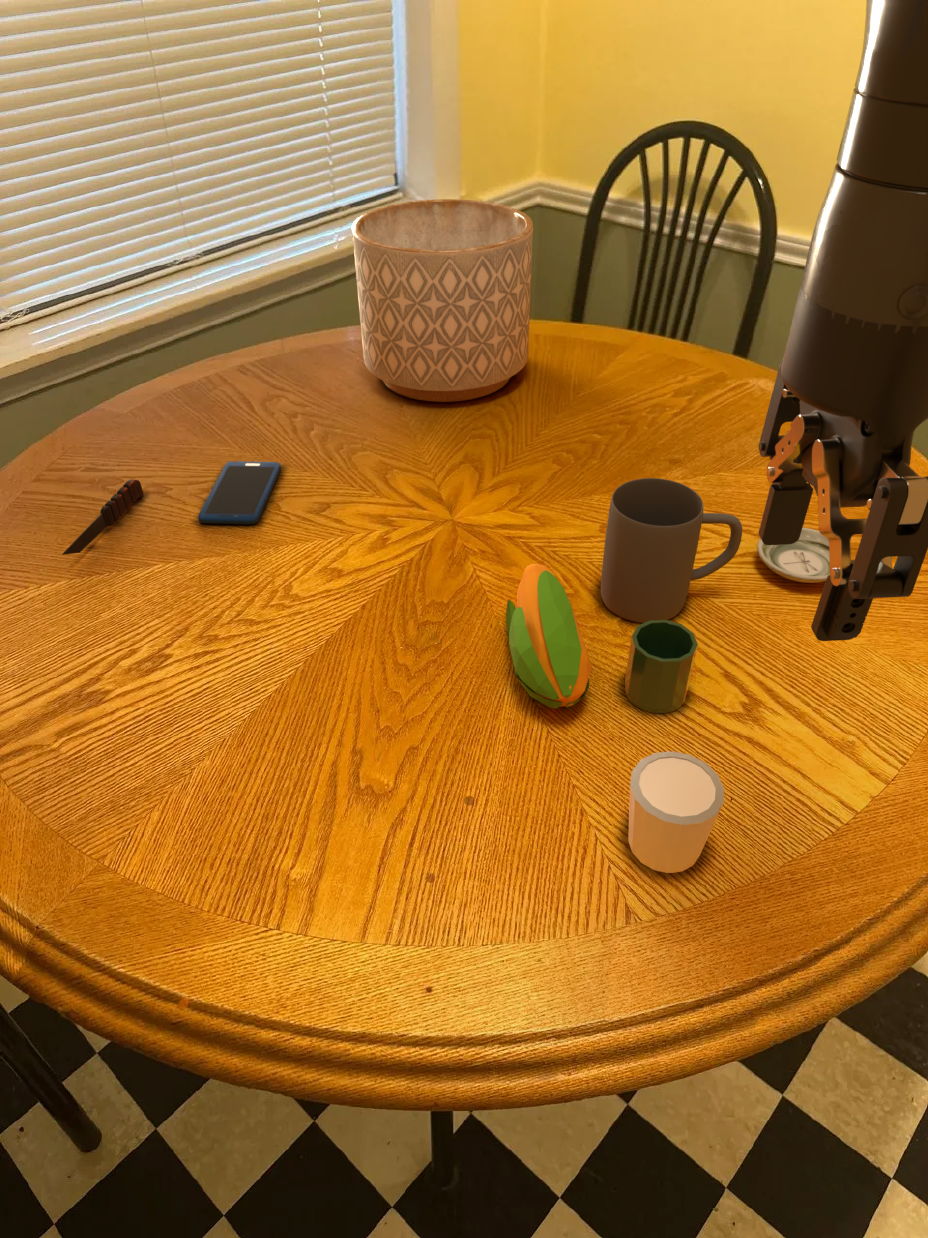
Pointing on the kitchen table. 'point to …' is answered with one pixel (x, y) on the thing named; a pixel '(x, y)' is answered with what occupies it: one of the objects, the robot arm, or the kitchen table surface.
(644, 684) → the green faceted cup
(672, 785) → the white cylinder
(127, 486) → the knife
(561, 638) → the corn
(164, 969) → the kitchen table surface
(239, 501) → the cell phone
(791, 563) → the saucer
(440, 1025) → the kitchen table surface
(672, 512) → the mug
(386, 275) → the planter
